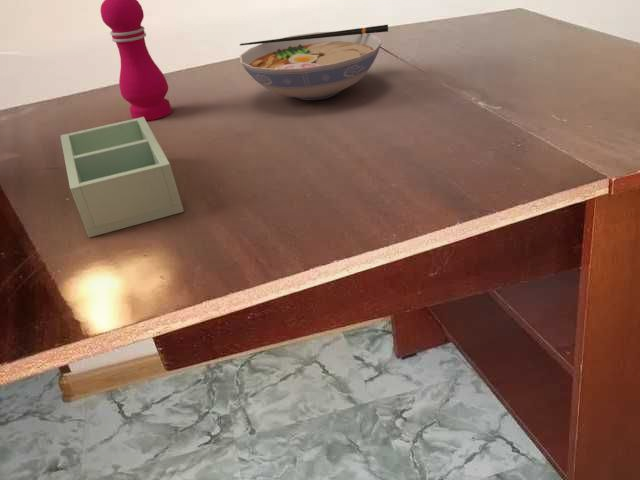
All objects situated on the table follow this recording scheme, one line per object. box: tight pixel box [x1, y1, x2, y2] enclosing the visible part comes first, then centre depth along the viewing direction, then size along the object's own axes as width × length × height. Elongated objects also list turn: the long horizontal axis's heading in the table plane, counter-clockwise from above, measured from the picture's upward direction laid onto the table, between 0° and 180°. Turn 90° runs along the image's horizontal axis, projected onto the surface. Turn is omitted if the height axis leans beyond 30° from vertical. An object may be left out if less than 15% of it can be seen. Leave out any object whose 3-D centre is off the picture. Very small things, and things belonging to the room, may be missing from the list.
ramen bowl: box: [239, 24, 389, 101], centre depth 113 cm, size 25×23×8 cm
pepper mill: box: [100, 0, 173, 122], centre depth 108 cm, size 7×7×20 cm
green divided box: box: [59, 117, 185, 239], centre depth 85 cm, size 10×20×6 cm, turn 27°
